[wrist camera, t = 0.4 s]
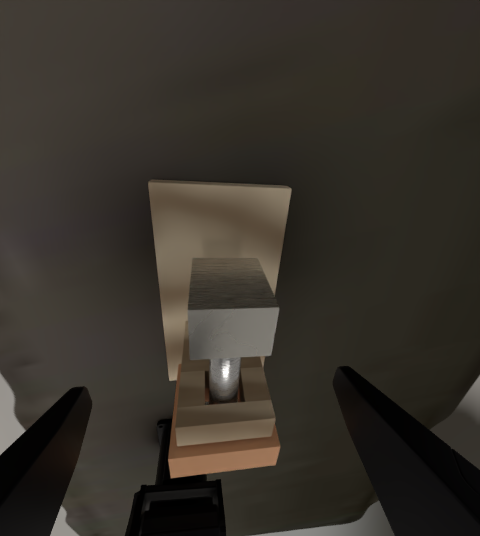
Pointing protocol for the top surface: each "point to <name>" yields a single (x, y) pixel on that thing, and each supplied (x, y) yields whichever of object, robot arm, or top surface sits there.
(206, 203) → the bracket
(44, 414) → the robot arm
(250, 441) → the spacer
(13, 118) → the top surface
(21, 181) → the top surface
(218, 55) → the top surface
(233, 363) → the shaft
